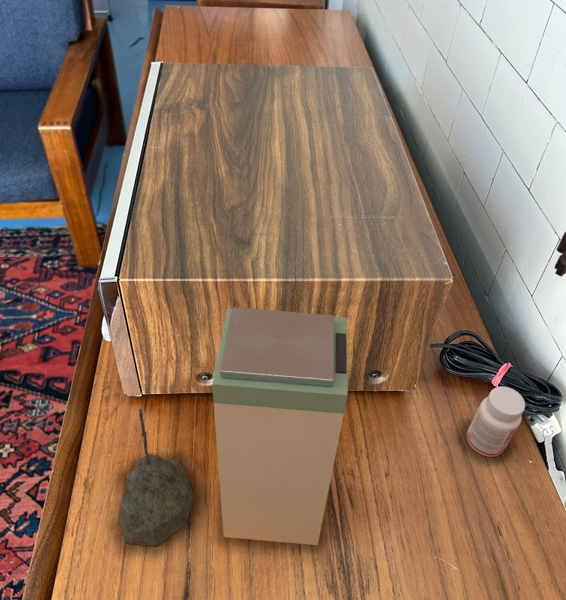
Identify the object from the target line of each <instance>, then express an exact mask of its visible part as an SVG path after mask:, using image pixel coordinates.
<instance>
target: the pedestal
mask: <svg viewBox="0 0 566 600" xmlns="http://www.w3.org/2000/svg"><path fill="white" fill-rule="evenodd" d="M213 409H214V410H213V412H214V424H215V439H216V451H217V464H218V465H217V466H218V477H219V493H220V504H221V505H220V506H221V518H222V519H221V520H222V532H223V538H230V539H240V540H241V539H243V540H253V541H265V542H276V543H288V544H299V545H309V546H318V544H319V540H320V535H321V531H322V530H321V529H322V525H323V520H324V516H325V511H326V506H327V501H328V496H329V491H330V487H331V486H330V485H331V480H332V476H333V470H334V465H335V461H336V457H337V456H336V455H337V451H338V445H339V441H340V437H341V431H342V426H343V421H344V415H345V413H344V414H340V413H328V412H316V411H304V410H292V409H280V408H268V407H256V406H244V405H232V404H220V403H214V402H213Z"/></svg>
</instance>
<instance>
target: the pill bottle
mask: <svg viewBox="0 0 566 600" xmlns="http://www.w3.org/2000/svg"><path fill="white" fill-rule="evenodd" d="M525 408H526V402H525V399H524V397H523V396H522V395H521V394H520V393H519V392H518V391H517V390H515V389H513V388H511V387H508V386H497V387H494V388H492V389H491V390H490V392H489V393H488V396H487V397H485V398H484V399H483V400H482V401H481V403H480V404H479V405H478V408H477V411H476V412H475V415H474V416H473V419H472V420H471V422H470V424H469V426H468V428H467V431H466V439H467V442H468V444H469V446H470V447H471V449H472V450H474V451H475V452H476V453H478V454H480V455H481V456H485V457H489V458H490V457H491V458H492V457H494V458H495V457H498V456H499V455H501V454H503V453H504V451H505V450H506V448H507V447H508V445H509V443H510V441H511V440H512V438H513V437H514V435H515V434H516V432H517V430H518V428H519V426H520V425H521V423H522V417H523V416H522V415H523V413H524V411H525Z"/></svg>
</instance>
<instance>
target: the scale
mask: <svg viewBox="0 0 566 600" xmlns="http://www.w3.org/2000/svg"><path fill="white" fill-rule="evenodd" d="M347 322H348V320H347V317H341V316H335V315H334V314H324V313H323V314H322V313H310V312H297V311H285V310H273V309H262V308H246V307H237V306H236V307H234V306H233V307H231V308H227V310H226V314H225V319H224V324H223V329H222V335H221V338H220V339H221V340H220V344H219V349H218V354H217V358H216V365H215V369H214V374H213V379H212V385H211V386H212V397H213V399H212V400H213V404H214V403H220V404H232V405H244V406H256V407H268V408H280V409H292V410H304V411H316V412H328V413H340V414H344V415H345V410H346V406H347V401H348V396H349V389H348V388H349V387H348V386H349V385H348V383H349V382H348V379H349V378H348V332H347V331H348V327H347V326H348V323H347Z"/></svg>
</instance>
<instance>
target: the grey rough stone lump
mask: <svg viewBox="0 0 566 600" xmlns="http://www.w3.org/2000/svg"><path fill="white" fill-rule="evenodd" d="M138 415H139V422H140V428H141V433H140V435H141V436H142V442H143V450H144V455H145V456H143V457H142V458H140V459H139V461H138V462H136V464H134V467H133V469H132V471H130V472H127V473H125V475H124V476H125V478H126V480H127V481H126V485H125V489H124V492H123V495H122V497H121V501H120V504H119V519H118V521H119V524H120V528H121V530H122V533H123V536H124V539H125V542H126V543H127V544H132V545H141V546H151V547H157V546H159V545H160V544H162V543H163V542H164V541H166V540H167V539H168V538H170V537H171V536H173V535H174V534H175V533H176V532H178V531H179V530H180V529H182V528H183V527H184V526H185V525H187V522H188V519H189V515H190V513H191V510H192V507H193V503H194V501H195V495H194V492H193V489H192V487H191V483H190V481H189V478H188V476H187V475H188V474H187V473H186V471H185V469H184V468H183V465H182V463H181V461H180V459H165V458H162V457H161V456H159V455H157V454H153V453H149V451H148V439H147V434H148V433H147V431H146V428H145V423H144V413H143V409H142V408H139V409H138Z"/></svg>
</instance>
